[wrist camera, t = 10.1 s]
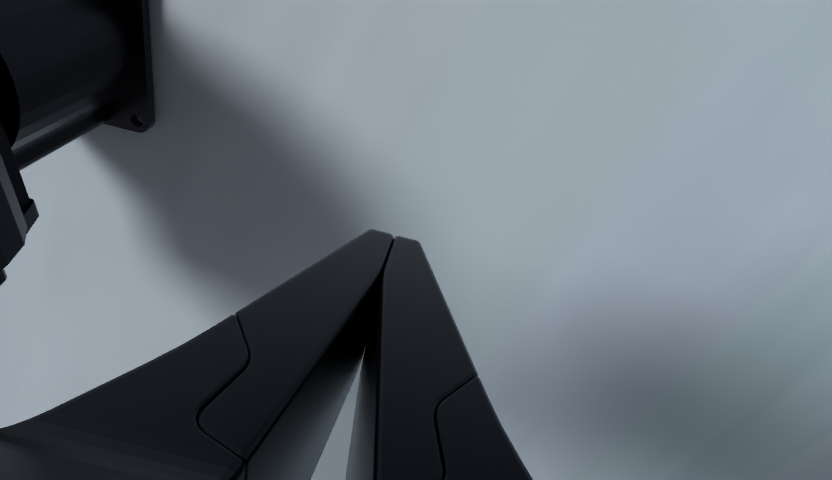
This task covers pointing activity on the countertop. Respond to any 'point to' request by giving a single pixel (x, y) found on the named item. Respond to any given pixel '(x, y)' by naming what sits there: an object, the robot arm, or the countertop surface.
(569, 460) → the countertop surface
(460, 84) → the countertop surface
